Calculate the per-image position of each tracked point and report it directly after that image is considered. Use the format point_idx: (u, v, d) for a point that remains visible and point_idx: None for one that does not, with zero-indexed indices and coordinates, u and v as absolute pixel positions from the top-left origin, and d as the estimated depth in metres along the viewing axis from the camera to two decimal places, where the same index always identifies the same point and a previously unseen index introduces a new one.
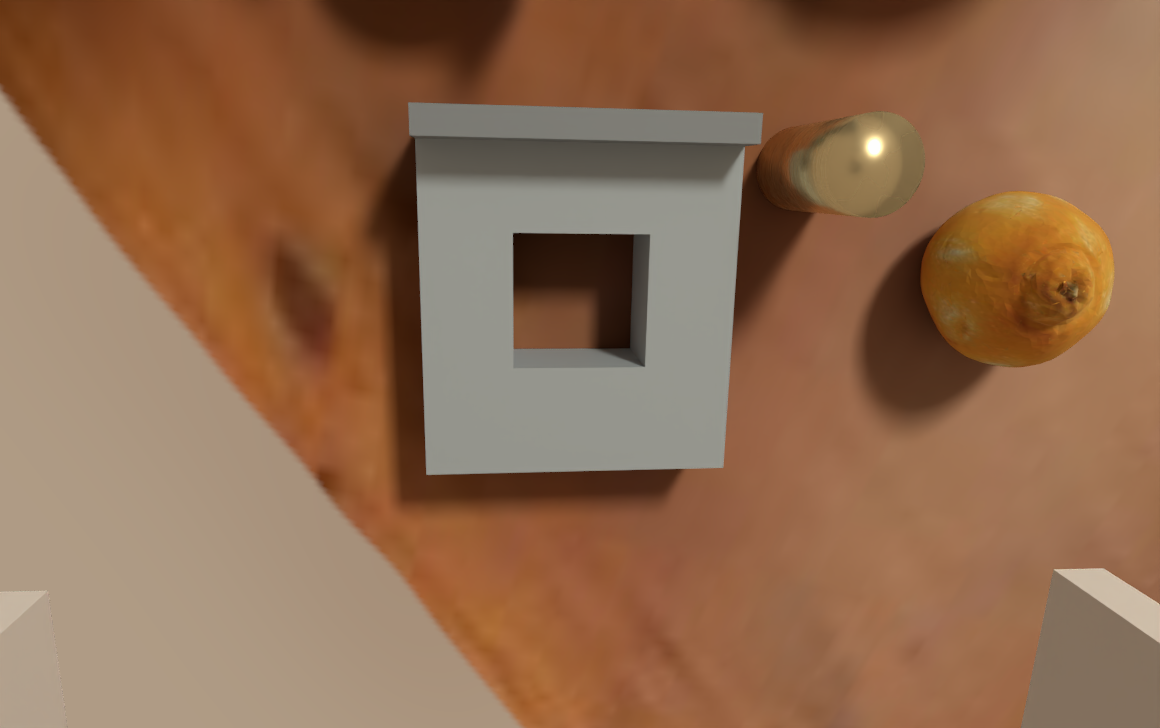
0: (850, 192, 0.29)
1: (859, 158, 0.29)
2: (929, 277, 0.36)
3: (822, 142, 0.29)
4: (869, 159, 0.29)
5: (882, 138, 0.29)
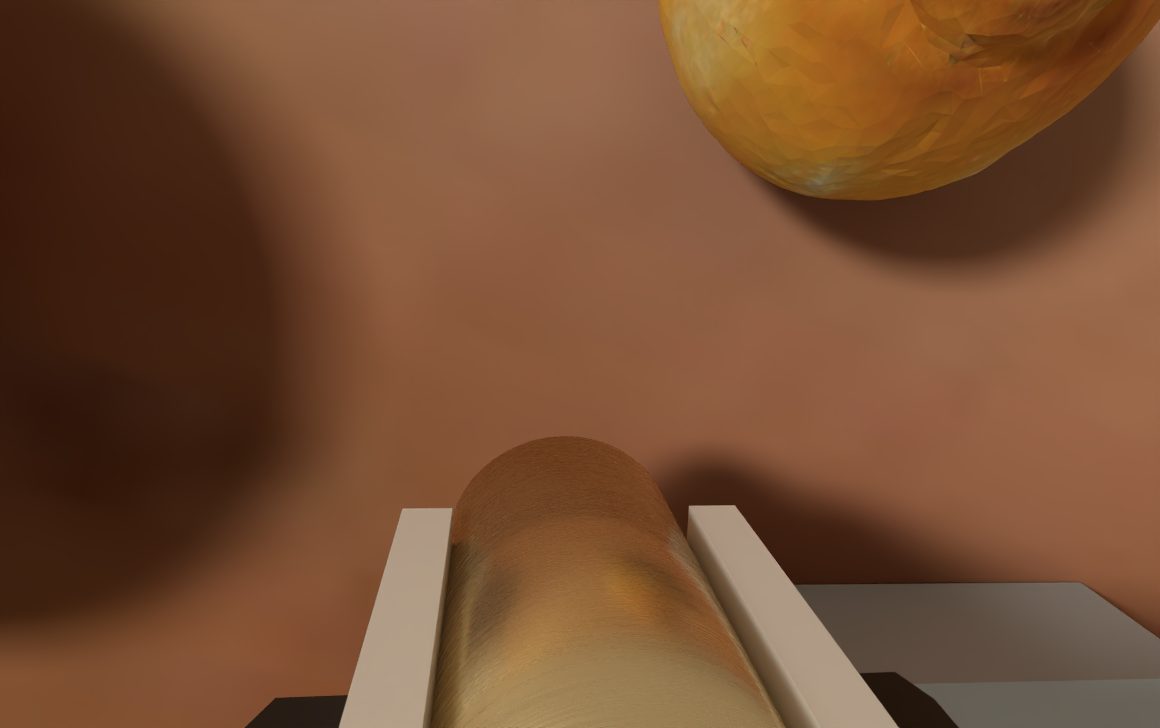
0: None
1: None
2: None
3: None
4: None
5: None
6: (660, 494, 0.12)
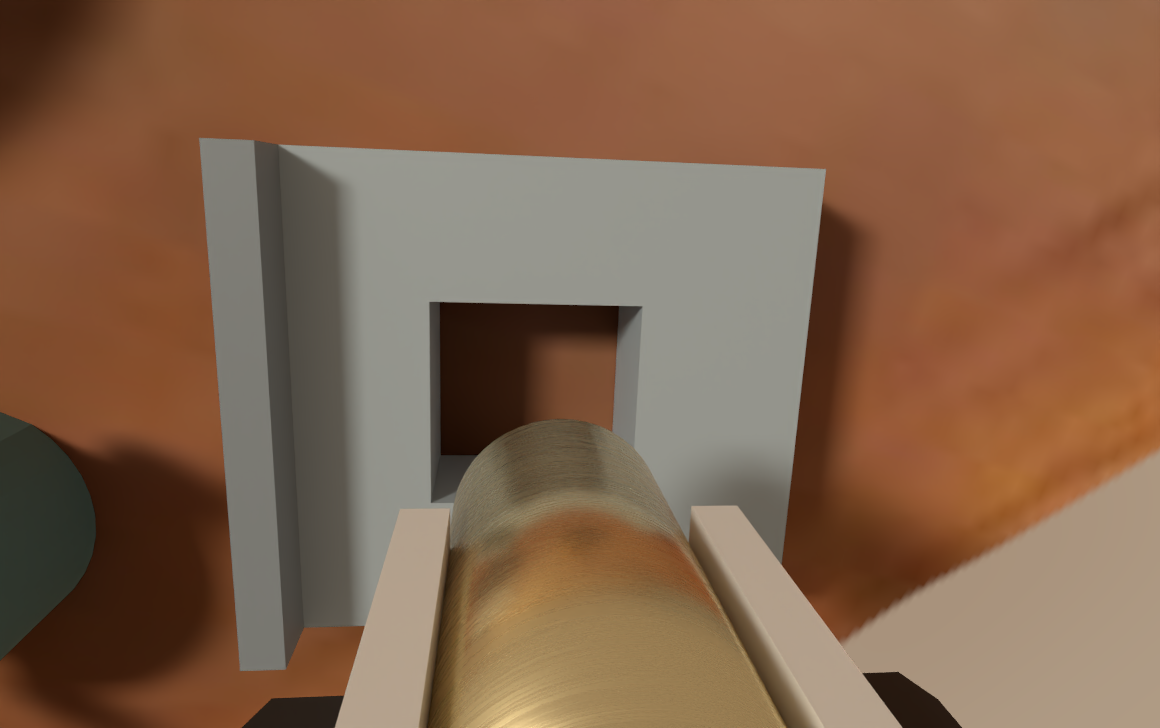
0: None
1: None
2: None
3: None
4: None
5: None
6: (649, 472, 0.13)
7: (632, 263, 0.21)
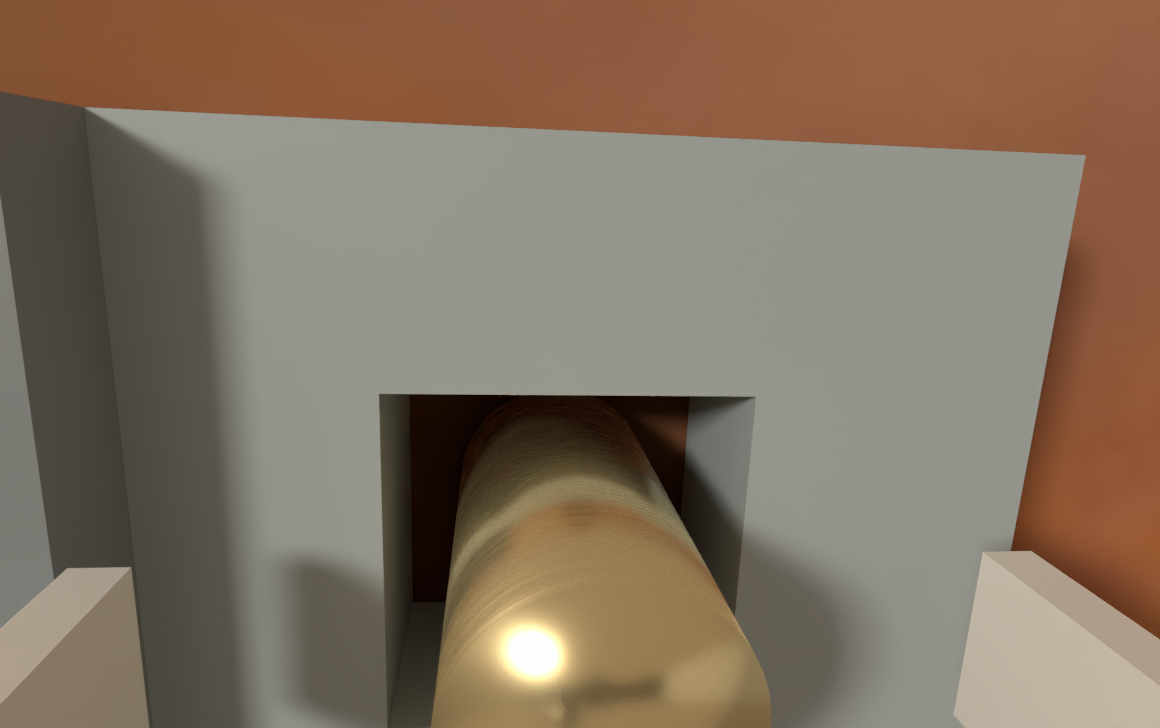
0: None
1: None
2: None
3: None
4: None
5: None
6: (632, 433, 0.15)
7: (741, 323, 0.12)
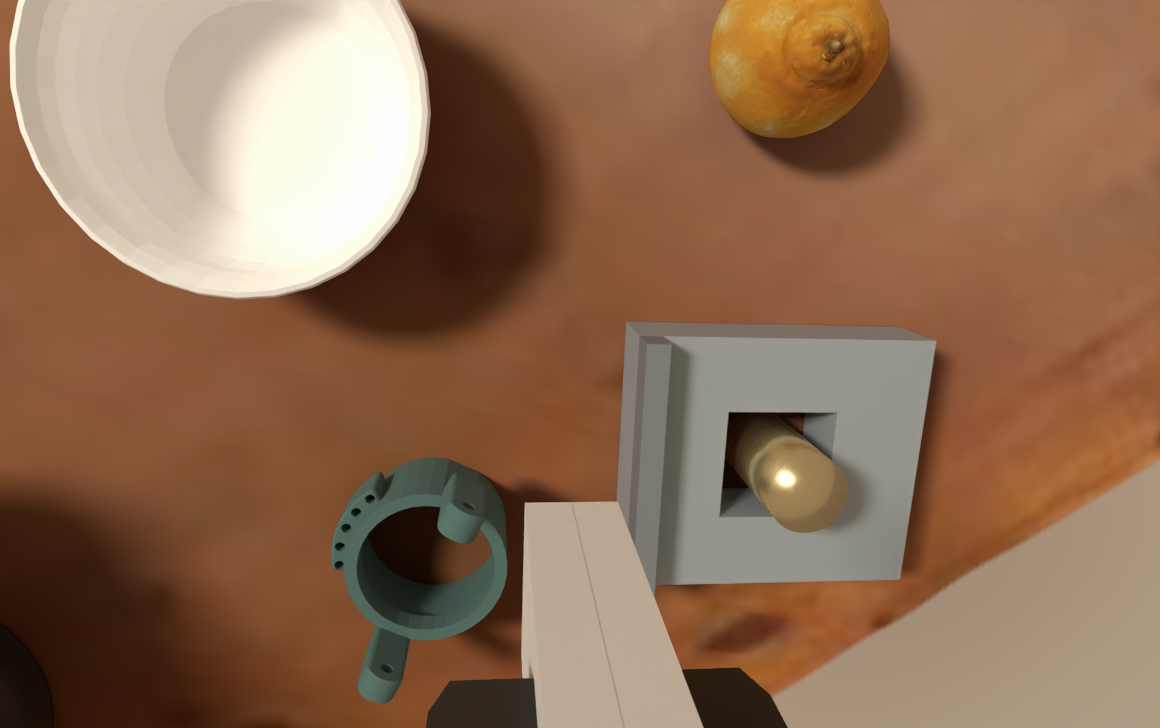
0: (827, 511, 0.37)
1: (803, 508, 0.36)
2: None
3: None
4: (803, 501, 0.36)
5: (789, 492, 0.36)
6: None
7: (833, 390, 0.39)
